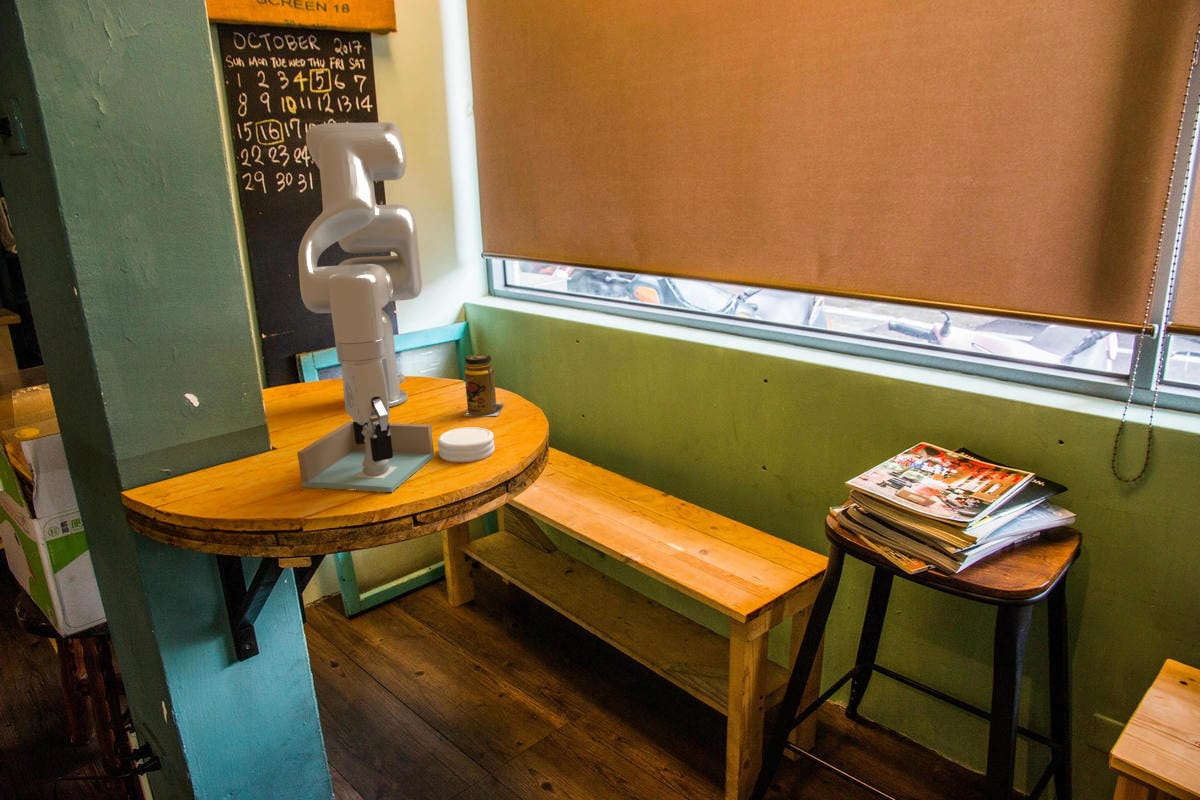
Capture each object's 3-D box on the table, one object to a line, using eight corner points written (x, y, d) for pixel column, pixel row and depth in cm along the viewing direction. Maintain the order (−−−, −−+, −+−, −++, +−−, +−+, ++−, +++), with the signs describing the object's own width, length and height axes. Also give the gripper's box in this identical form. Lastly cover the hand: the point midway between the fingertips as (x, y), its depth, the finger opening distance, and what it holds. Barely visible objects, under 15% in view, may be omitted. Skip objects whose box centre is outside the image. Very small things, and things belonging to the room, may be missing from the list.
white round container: (442, 445, 145) (440, 427, 144) (496, 442, 145) (495, 424, 144) (435, 465, 135) (433, 446, 134) (493, 462, 136) (492, 443, 135)
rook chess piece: (378, 464, 133) (372, 419, 130) (395, 469, 130) (390, 424, 128) (356, 472, 129) (350, 427, 127) (374, 478, 127) (368, 431, 124)
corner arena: (353, 452, 142) (349, 421, 140) (434, 456, 138) (431, 424, 137) (302, 486, 127) (297, 452, 125) (391, 493, 124) (387, 457, 122)
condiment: (462, 417, 160) (457, 360, 156) (471, 405, 168) (466, 350, 164) (497, 416, 160) (493, 360, 156) (504, 404, 168) (500, 350, 164)
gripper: (324, 344, 129) (337, 441, 134) (352, 364, 114) (366, 472, 120) (369, 337, 132) (380, 432, 137) (402, 356, 118) (413, 461, 123)
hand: (374, 450), depth 128 cm, fingers open, 9 cm apart
